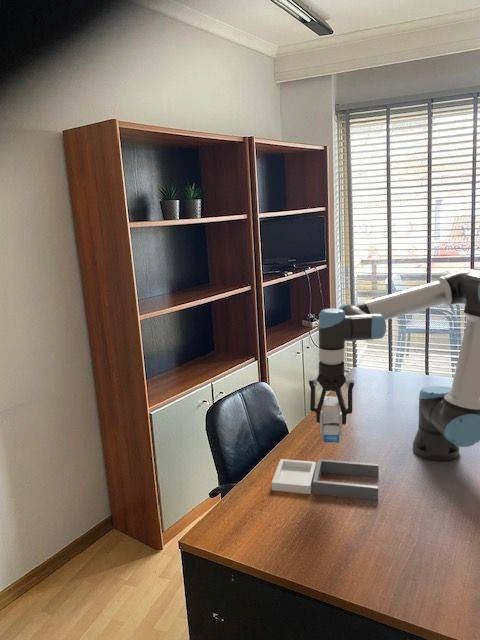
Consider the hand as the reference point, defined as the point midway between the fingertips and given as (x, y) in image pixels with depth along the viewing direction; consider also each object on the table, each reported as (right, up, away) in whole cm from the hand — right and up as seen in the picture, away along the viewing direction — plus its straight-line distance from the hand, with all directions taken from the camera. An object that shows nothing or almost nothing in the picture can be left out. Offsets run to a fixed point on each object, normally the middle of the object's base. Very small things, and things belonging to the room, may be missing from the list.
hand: (331, 432), depth 157 cm
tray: (-10, -17, +7) cm, 21 cm away
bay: (+6, -17, +3) cm, 18 cm away
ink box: (0, -2, 0) cm, 1 cm away
